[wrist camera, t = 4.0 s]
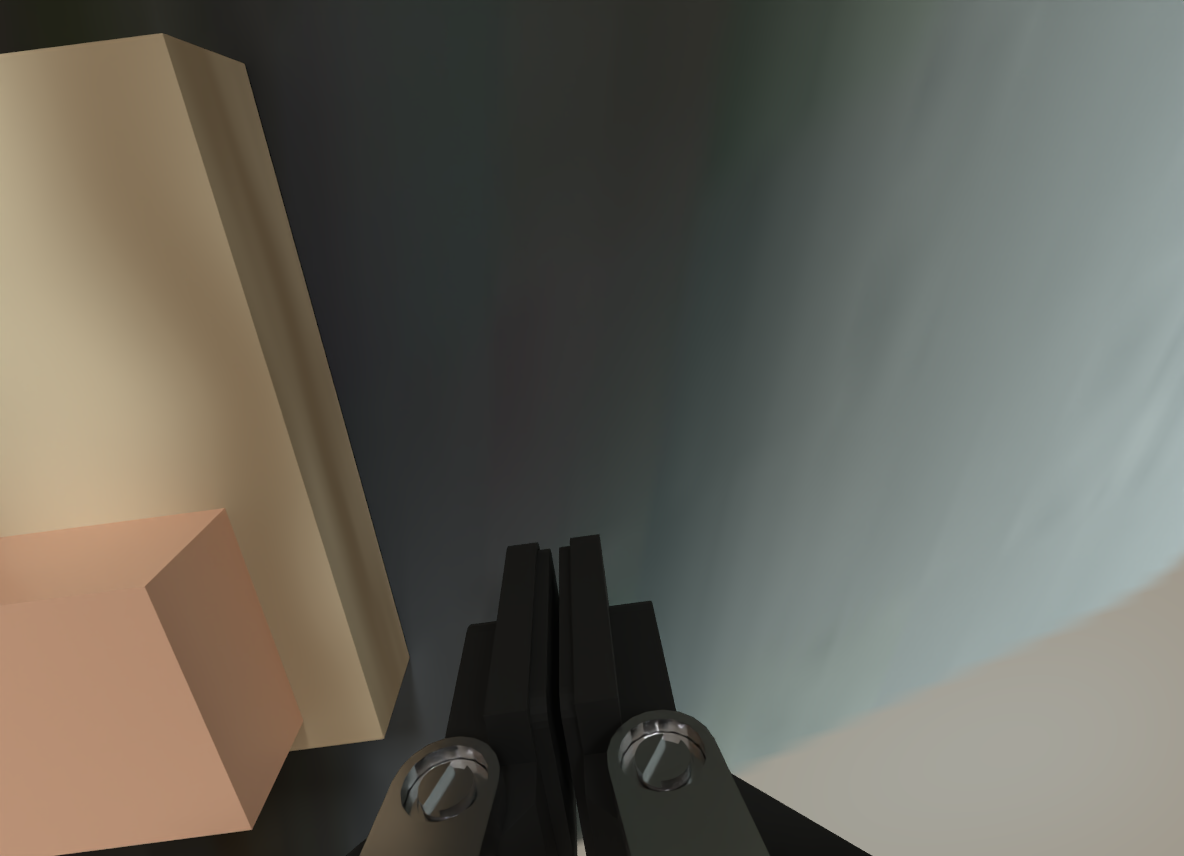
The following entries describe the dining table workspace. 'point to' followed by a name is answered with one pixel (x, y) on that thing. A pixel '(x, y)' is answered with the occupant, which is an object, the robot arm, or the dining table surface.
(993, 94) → the dining table surface
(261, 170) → the birch board
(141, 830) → the terracotta tile
